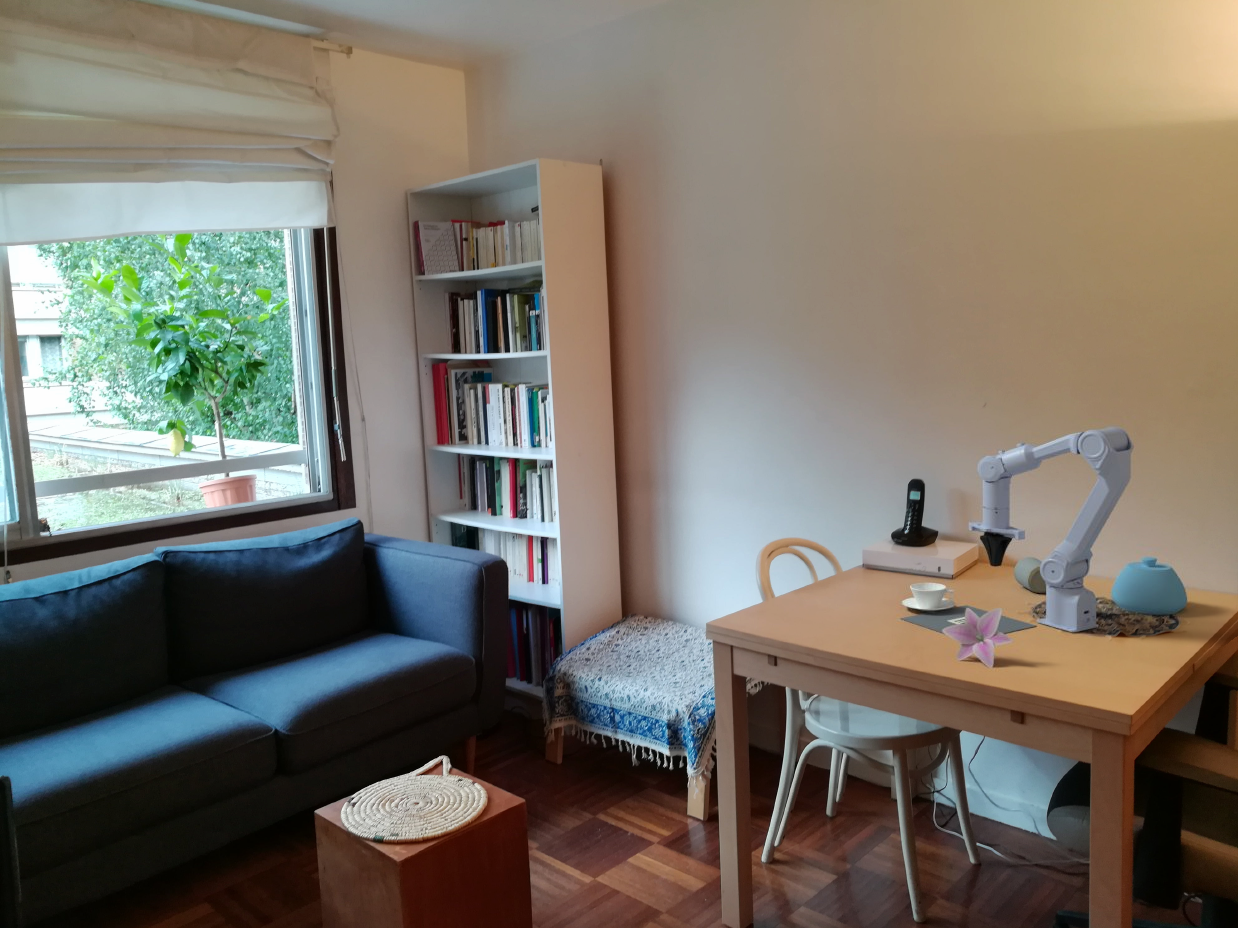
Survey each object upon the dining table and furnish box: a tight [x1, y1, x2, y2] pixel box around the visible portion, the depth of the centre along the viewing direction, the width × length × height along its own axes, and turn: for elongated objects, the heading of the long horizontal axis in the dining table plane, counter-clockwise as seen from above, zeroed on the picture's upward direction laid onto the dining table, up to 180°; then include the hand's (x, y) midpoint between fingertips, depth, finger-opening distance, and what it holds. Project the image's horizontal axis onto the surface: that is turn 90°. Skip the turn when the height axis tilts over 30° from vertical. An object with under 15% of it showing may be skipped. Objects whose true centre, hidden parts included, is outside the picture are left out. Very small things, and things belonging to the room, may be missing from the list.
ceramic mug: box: [1013, 556, 1046, 594], centre depth 227 cm, size 11×8×8 cm
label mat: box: [900, 604, 1037, 635], centre depth 204 cm, size 20×20×1 cm
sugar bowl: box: [1110, 556, 1188, 616], centre depth 209 cm, size 15×15×12 cm
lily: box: [942, 607, 1014, 668], centre depth 180 cm, size 12×12×10 cm
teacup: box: [901, 582, 957, 612], centre depth 215 cm, size 12×12×5 cm
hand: (995, 565), depth 211 cm, fingers closed
